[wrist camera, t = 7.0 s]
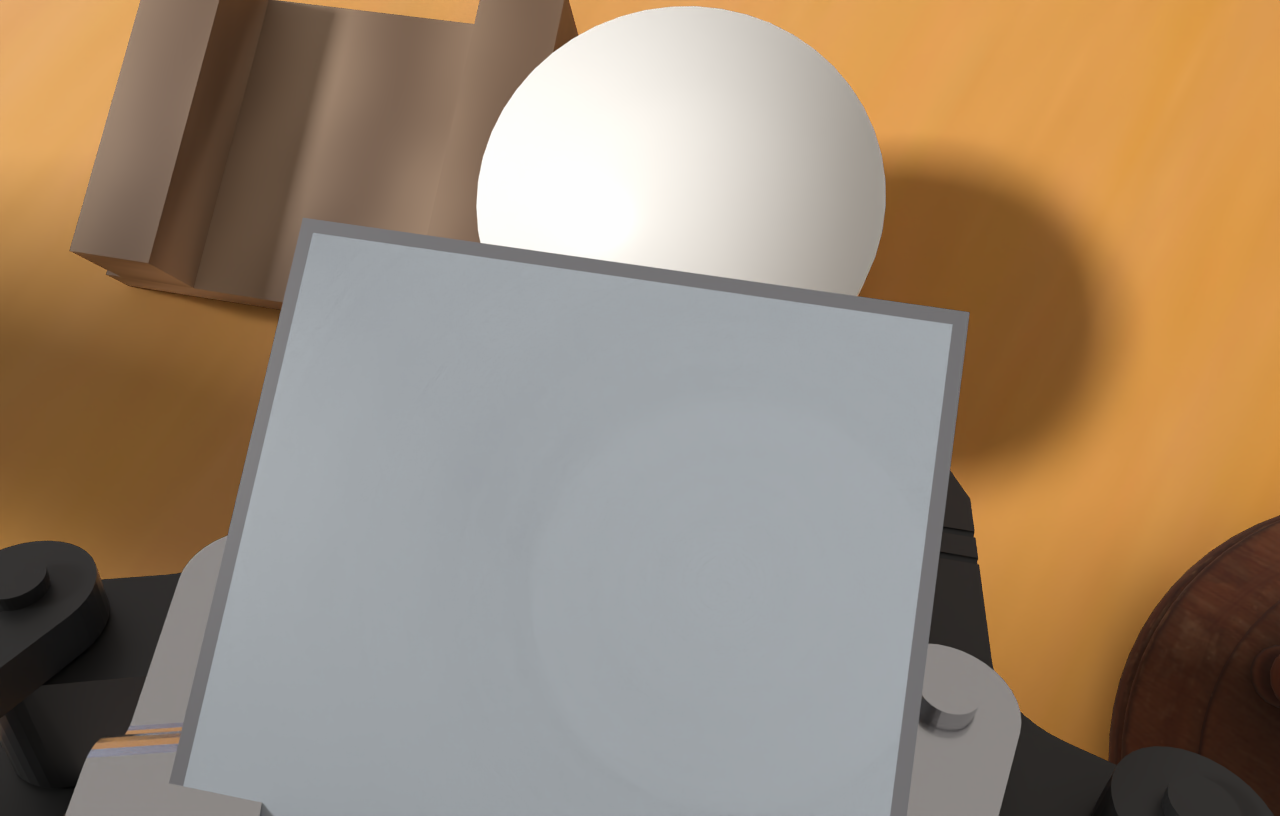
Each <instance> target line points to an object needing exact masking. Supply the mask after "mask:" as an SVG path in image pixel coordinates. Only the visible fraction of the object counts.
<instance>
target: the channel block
mask: <svg viewBox="0 0 1280 816" xmlns="http://www.w3.org/2000/svg"><path fill="white" fill-rule="evenodd" d="M577 36H578V32H577V28H576V25H575V21H574V18H573V14H572V10H571V7H570V3H569V0H480V2H479V6H478V10H477V15H476V19H475V24H469V23H460V22H452V21H444V20H435V19H427V18H419V17H410V16H402V15H394V14H386V13H377V12H369V11H361V10H352V9H344V8H336V7H327V6H319V5H311V4H303V3H294V2H286V1H278V0H141V1H140V4H139V8H138V11H137V15H136V18H135V22H134V25H133V29H132V32H131V36H130V39H129V43H128V46H127V50H126V53H125V57H124V61H123V64H122V68H121V71H120V75H119V78H118V82H117V85H116V89H115V92H114V96H113V99H112V103H111V106H110V110H109V113H108V117H107V120H106V124H105V128H104V131H103V135H102V138H101V142H100V145H99V149H98V152H97V156H96V159H95V163H94V166H93V170H92V173H91V177H90V180H89V184H88V187H87V191H86V195H85V198H84V202H83V205H82V209H81V212H80V216H79V219H78V223H77V226H76V230H75V233H74V237H73V240H72V244H71V247H70V251H71V252H73V253H75V254H77V255H79V256H81V257H83V258H85V259H87V260H89V261H91V262H93V263H95V264H97V265H99V266H101V267H103V268H104V269H106V270H107V273H106V275H108V276H110V277H112V278H114V279H116V280H118V281H120V282H122V283H124V284H126V285H128V286H134V287H140V288H147V289H153V290H159V291H166V292H172V293H178V294H184V295H191V296H197V297H203V298H209V299H216V300H222V301H228V302H235V303H241V304H247V305H253V306H260V307H266V308H272V309H278V310H281V308H282V304H283V300H284V295H285V291H286V287H287V283H288V278H289V274H290V270H291V266H292V262H293V257H294V253H295V249H296V245H297V240H298V236H299V232H300V228H301V224H302V219H303V218H309V219H316V220H323V221H330V222H337V223H344V224H351V225H358V226H365V227H372V228H379V229H386V230H393V231H400V232H408V233H415V234H422V235H429V236H436V237H443V238H450V239H457V240H464V241H471V242H478V243H480V238H479V233H478V222H477V208H476V204H477V190H478V179H479V174H480V169H481V164H482V159H483V155H484V153H485V150H486V147H487V144H488V141H489V138H490V135H491V133H492V131H493V129H494V127H495V125H496V123H497V121H498V118H499V116H500V114H501V112H502V110H503V109H504V107H505V106H506V104H507V103H508V102H509V100H510V99H511V97H512V96H513V94H514V93H515V91H516V90H517V88H518V87H519V86H520V85H521V84H522V83H523V81H524V80H525V79H526V78H527V77H528V76H529V75H530V73H531V72H532V71H533V70H534V69H535V68H536V67H537V66H539V65H540V64H541V63H542V62H543V61H544V60H545V59H546V58H547V57H548V56H550V55H551V54H552V53H553V52H555V51H556V50H557V49H559V48H560V47H562V46H563V45H565V44H566V43H567V42H569V41H570V40H572V39H573V38H575V37H577Z"/></svg>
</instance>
